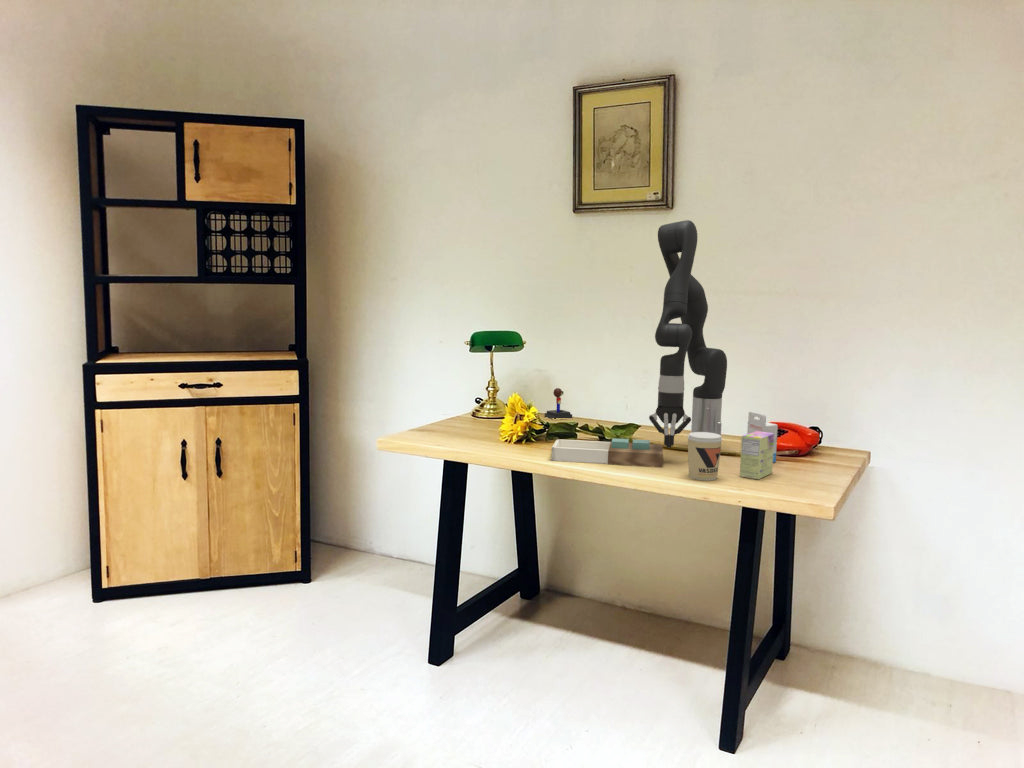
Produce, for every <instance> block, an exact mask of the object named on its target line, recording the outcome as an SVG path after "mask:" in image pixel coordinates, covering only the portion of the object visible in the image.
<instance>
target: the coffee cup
mask: <svg viewBox="0 0 1024 768" xmlns="http://www.w3.org/2000/svg"><path fill="white" fill-rule="evenodd" d="M722 442H723V437H722V434H721V435H719V434H716V433H709V432H692V433H691V432H690V433H688V435H687V452H688V453H687V454H688V455H687V457H688V458H687V459H688V477H689V479H693V480H697V481H715V480H717V479H718V473H719V466H720V457H721V451H722V449H721V448H722Z"/></svg>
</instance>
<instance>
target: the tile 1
mask: <svg viewBox="0 0 1024 768" xmlns="http://www.w3.org/2000/svg"><path fill="white" fill-rule="evenodd" d="M629 440H630V439H629V438H613V437H612V440H611V442H612V445H611V448H621V449H628V446H629V443H630V441H629Z"/></svg>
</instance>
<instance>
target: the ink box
mask: <svg viewBox="0 0 1024 768" xmlns="http://www.w3.org/2000/svg"><path fill="white" fill-rule="evenodd" d="M747 417H748V421H747V431H746V434H749V433H752V432H755V431H760V432H768V433H774V446H773V463H776V462H777V445H778V444H777V442H778V429H779V428H778V424H776V423H771V422H767V416H766V415H765V414H761V413H758V412H757V413H756V412H752V411H749V412H748V416H747ZM755 417H757V418H755Z"/></svg>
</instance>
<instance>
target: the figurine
mask: <svg viewBox="0 0 1024 768" xmlns="http://www.w3.org/2000/svg"><path fill="white" fill-rule="evenodd" d="M552 393H553V396H554V397H556V398H555V400H556V402H555V404H556V409H551V410H550V409H549V410H546V412H545V413H544V418H546V417H548V418H547V419H550V418H554V419H556V418H572V419H573V414H572V413H571V411H568V410H563V409H561V404H562V398H561V397H562V396H563V395H564V391H562V389H561V388H559V387H556V388H555V389H553V392H552Z"/></svg>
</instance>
